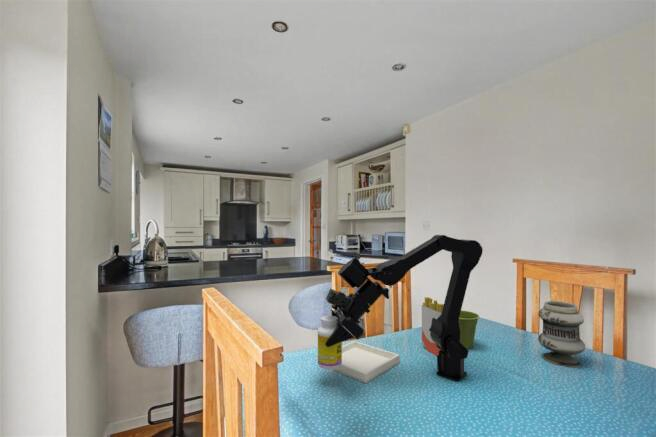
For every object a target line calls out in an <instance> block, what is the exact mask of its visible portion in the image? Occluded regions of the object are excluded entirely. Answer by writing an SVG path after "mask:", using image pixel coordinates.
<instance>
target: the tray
mask: <svg viewBox="0 0 656 437" xmlns="http://www.w3.org/2000/svg"><path fill="white" fill-rule="evenodd" d="M400 361H401V355H400V354H399V353H398V354H397V353H395V352H391V351H388V350H385V349H382V348H378V347H376V346H372V345H369V344H365V343H363V342H359V341H356V340H353V341H350V342H349V343H346V344H344V345H343V344H342V364H341V366H340V367H339V368H337V369H332V370H333V371H335V372H338V373H340V374H342V375H344V376H347V377H349V378H351V379H355V380H357V381H359V382H362V383H364V384H368V383H370V382H371V381H372V380H374V379H376V378H378V377H380V376H381V375H382V374H384V373H386V372H388V371H389V370H391V369H392V368H394V367H395V366H396V365H398V364H400V363H401V362H400Z"/></svg>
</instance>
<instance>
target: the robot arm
mask: <svg viewBox="0 0 656 437" xmlns="http://www.w3.org/2000/svg"><path fill="white" fill-rule="evenodd" d="M441 251H446V252H449V253H451V254H450V255H451V256H450V257H451V258H450V259H451V263H452V271H451V275H450V277H449V278H450V279H449V283H448V286H447V290H446V295H445V299H444V303H443V304H444V306H443V310H442V313H441V315H440V316H439V317H438V319H435V318H432V324H431V327H430V329H429V331H430V337H431V339H432V340H433V342H435V343H436V346H437V348H439V349H440V351H439V355H438V356H436V366H437V367H436V369H437V371H436V374H435V375H437V376H439V377H440V376H441V377H443V378H447V379H449V380H452V381H455V382H461V381H462V379H463V378H465V376H466V375H467V371H465V359H467V358H468V356H469V352H470V351H469V349H466V348H465V347H464V346H463V345H462V344H461V343H460V335H461V331H460V326H459V316H460V312H461V310H462V309H463V308H462V307H463V304H464V300H465V296H466V291H467V288H468V284H469V280H470V277H471V273H472V271H473V270H474V269H475V268H476V267H477V266H478V264H479V262H480V260H481V257H482V254H483V247H482V245H481V243H480V242H478V241H477V240H472V239H458V238H454V237H449V236H448V235H445V234H435V235H433V236H432V237H431V238H430V239H428V240H426V241H425V242H423V243H421V244H420V245H418V246H416V247H415V248H412V249H411V250H409V251H407V252H406V253H404V254H403V255H401V256H399V257H398V256H397V257H395V258H392V259H388V260H386V261H383V262H380V263H378V265H376V266H374V267H369V268H366V267H365V265H363V264H362V263H361V261H360V260H359V259H358V258H357V257H355V256H354V257H353V258H352V259H350V260H348V261H347V262H346V263H344V264H343V265H342V266H341V267H340V269H339V270H338V272H337V275H338V276H340V277H341V279H342V280H344V282H345V283H347V284H348V285H349V286H350V288H352V289H353V288H357V290H356V291H355V292H354V293H353V292H352V293H351V292H350V293H349V294H348V295H346V294H345V292H341V290H339V291H337V290H335V289H332V288H330V289H329V291H328V292H327V293H328V294H327V295H326V297H325V300H326V302H327V303H329V304H330V307H331V309H330V316H335V317H337V318H338V320H336V329H335V330H334V331H333V333H332V334H331V336H330V337H329V339H328V340H327V342H326V343H325V345H326V346H327V347H330V346H332V345H335V344H337V343H340V342H345V341H348V340H351V339H356V340H359V339H360V338H361V337H362V336H363V335H364V329H363V327H362V326H361V324H360V323H361V322H360V319H361V318H362V317H363V316H364V315H365V314H366V313H367V314H369V313H370V312H371V310H370V308H371V307H372V306H373V305H374V304H375V303H376V302H377V300H379V298H380V297H381V296H382V297H384V298H385V299H387V300H389V299H390V294H389V291H390V290H389V288H388V287H392V286H395V285H396V284H397V283H399V282H400V281H402V279H404V277H405V276H406V275H407V273H408V272H409V271H410V270H411V269H413V268H414V267H416V266H418V265H420V264H421V263H423V262H424V261H426V260H428V259H429V258H432V257H433V256H434V255H436V254H437V253H439V252H441ZM370 278H371V279H373V280H375V281H372V280H371V279H370ZM379 282H380V283H379ZM381 284H383V285H385V286H388V287H383V286H382V285H381Z"/></svg>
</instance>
